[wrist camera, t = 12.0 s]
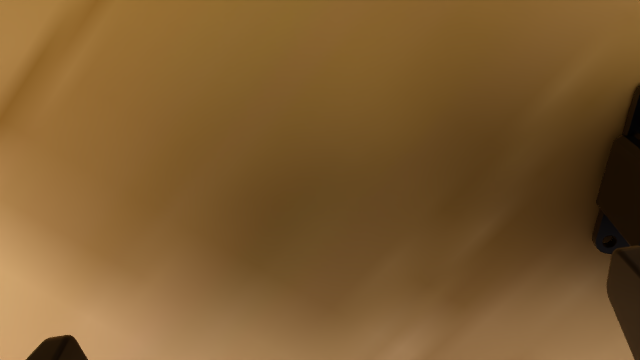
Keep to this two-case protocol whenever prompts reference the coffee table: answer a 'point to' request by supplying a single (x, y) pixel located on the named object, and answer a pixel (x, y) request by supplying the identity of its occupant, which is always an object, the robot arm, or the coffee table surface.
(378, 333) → the coffee table surface
